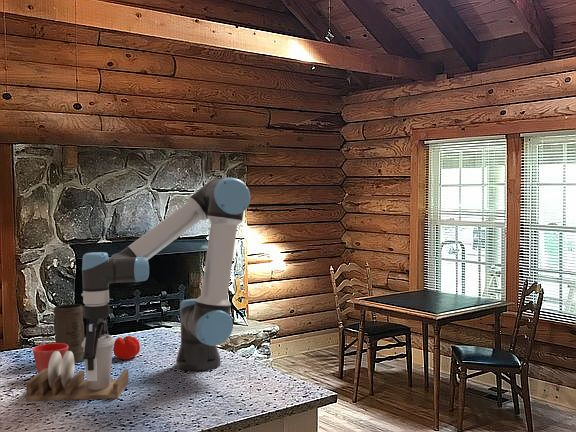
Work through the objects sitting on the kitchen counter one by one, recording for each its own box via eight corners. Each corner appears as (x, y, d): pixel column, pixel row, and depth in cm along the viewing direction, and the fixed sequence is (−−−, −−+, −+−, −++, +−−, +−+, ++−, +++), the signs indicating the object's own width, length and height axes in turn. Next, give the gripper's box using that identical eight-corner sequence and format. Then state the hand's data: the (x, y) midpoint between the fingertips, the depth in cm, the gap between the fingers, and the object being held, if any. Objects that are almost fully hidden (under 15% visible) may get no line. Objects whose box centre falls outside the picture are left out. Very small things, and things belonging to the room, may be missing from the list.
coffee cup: (96, 393, 183) (94, 342, 182) (75, 387, 188) (74, 338, 188) (122, 385, 191) (120, 336, 190) (101, 379, 196) (100, 332, 196)
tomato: (113, 362, 222) (112, 341, 221) (114, 355, 230) (113, 335, 230) (140, 360, 224) (139, 339, 224) (140, 354, 232) (139, 333, 232)
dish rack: (128, 382, 197) (127, 344, 196) (117, 398, 182) (116, 356, 181) (44, 384, 196) (43, 346, 195) (26, 400, 181) (25, 358, 180)
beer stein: (93, 358, 226) (89, 303, 226) (68, 365, 217) (64, 308, 217) (65, 356, 234) (61, 302, 234) (40, 362, 225) (36, 307, 225)
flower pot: (57, 381, 199) (56, 351, 199) (26, 380, 201) (25, 350, 201) (75, 372, 209) (74, 343, 209) (45, 370, 212) (45, 342, 211)
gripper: (94, 297, 200) (96, 363, 201) (71, 312, 175) (72, 387, 176) (118, 296, 201) (119, 362, 201) (98, 311, 176) (99, 386, 177)
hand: (97, 374), depth 189 cm, fingers open, 13 cm apart
